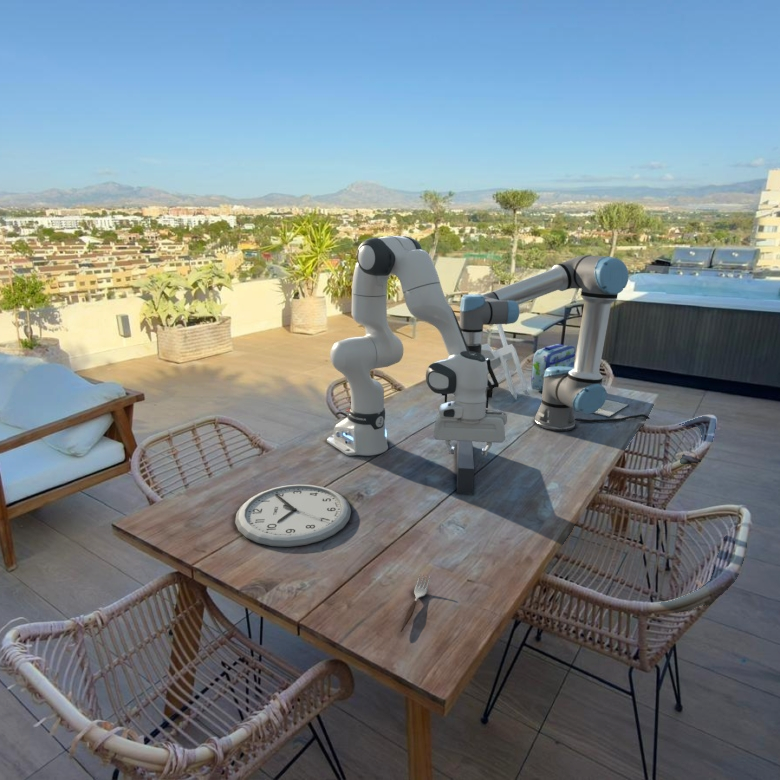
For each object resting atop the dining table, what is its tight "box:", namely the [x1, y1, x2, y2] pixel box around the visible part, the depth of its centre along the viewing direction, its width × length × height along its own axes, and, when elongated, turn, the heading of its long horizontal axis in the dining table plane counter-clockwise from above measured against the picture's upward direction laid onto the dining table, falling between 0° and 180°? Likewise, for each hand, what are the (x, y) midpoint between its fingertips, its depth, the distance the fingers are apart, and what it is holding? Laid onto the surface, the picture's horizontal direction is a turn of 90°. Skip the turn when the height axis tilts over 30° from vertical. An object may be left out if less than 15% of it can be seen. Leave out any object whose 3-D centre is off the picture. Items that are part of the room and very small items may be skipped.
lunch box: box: [530, 343, 576, 392], centre depth 248 cm, size 26×11×21 cm, turn 134°
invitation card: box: [593, 399, 629, 418], centre depth 226 cm, size 21×1×15 cm
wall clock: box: [234, 484, 352, 548], centre depth 138 cm, size 30×2×30 cm
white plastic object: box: [481, 324, 531, 400], centre depth 245 cm, size 37×45×31 cm
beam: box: [456, 441, 475, 495], centre depth 166 cm, size 36×4×8 cm, turn 173°
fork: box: [400, 573, 431, 633], centre depth 105 cm, size 3×16×2 cm, turn 160°
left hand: (467, 454), depth 152 cm, fingers open, 8 cm apart
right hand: (466, 405), depth 175 cm, fingers open, 13 cm apart
